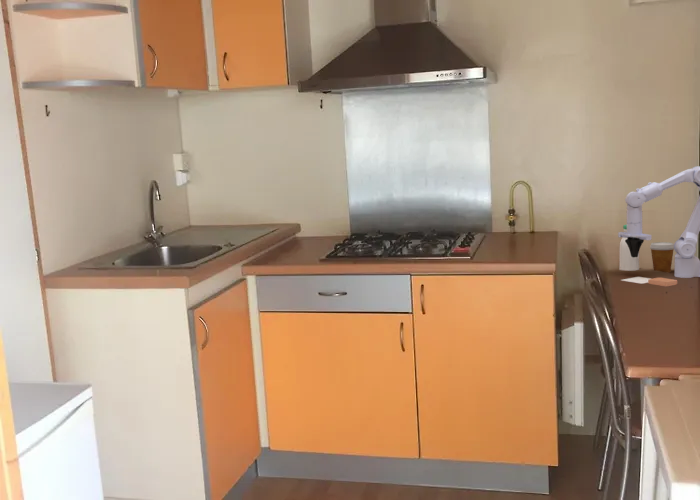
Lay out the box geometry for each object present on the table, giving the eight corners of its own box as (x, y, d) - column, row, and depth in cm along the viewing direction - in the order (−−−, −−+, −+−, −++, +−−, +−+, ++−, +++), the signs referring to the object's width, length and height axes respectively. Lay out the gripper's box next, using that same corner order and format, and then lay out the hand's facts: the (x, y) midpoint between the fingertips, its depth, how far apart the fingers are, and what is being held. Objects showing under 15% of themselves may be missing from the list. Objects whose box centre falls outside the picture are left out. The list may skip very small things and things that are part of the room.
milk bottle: (640, 274, 309) (640, 225, 306) (620, 274, 310) (620, 226, 307) (637, 270, 316) (637, 223, 313) (618, 271, 318) (618, 224, 315)
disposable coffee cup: (670, 270, 314) (670, 241, 312) (677, 274, 304) (678, 244, 303) (646, 270, 315) (646, 242, 313) (653, 274, 305) (653, 245, 304)
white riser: (638, 280, 296) (638, 276, 296) (659, 283, 287) (659, 280, 287) (620, 283, 291) (620, 280, 291) (641, 287, 282) (641, 283, 282)
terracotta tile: (659, 283, 285) (659, 277, 284) (677, 286, 278) (677, 280, 277) (648, 286, 282) (648, 279, 282) (666, 289, 275) (666, 282, 275)
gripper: (612, 222, 297) (612, 256, 299) (642, 224, 285) (642, 260, 287) (625, 220, 301) (625, 254, 303) (655, 223, 288) (655, 257, 290)
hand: (634, 256), depth 295 cm, fingers closed
